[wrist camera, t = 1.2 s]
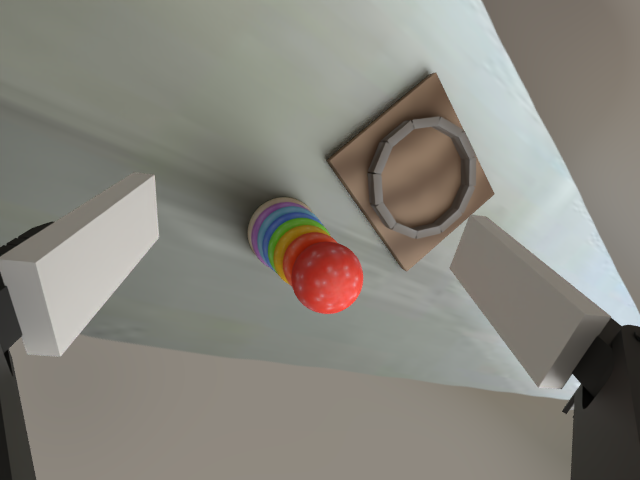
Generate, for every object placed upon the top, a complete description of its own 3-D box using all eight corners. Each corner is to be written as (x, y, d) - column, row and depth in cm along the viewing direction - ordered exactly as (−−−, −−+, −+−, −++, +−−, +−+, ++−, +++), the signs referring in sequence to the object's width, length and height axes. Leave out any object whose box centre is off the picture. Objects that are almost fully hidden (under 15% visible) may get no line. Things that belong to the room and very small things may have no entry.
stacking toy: (327, 232, 41) (415, 295, 23) (277, 276, 40) (329, 373, 23) (286, 181, 38) (352, 211, 20) (231, 228, 37) (252, 299, 20)
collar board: (326, 160, 38) (334, 161, 36) (429, 74, 39) (444, 69, 37) (401, 268, 45) (413, 275, 43) (487, 192, 46) (503, 195, 44)
